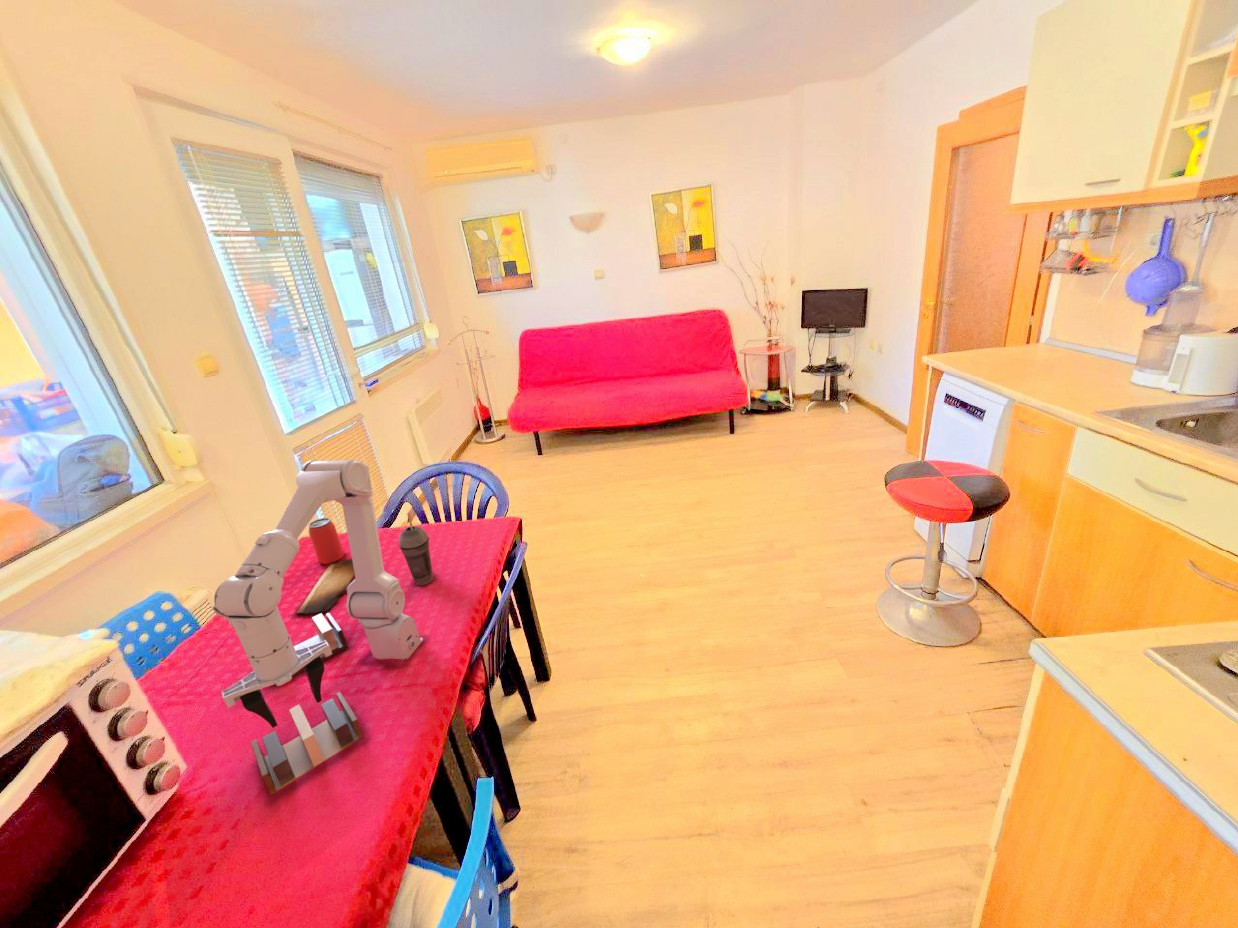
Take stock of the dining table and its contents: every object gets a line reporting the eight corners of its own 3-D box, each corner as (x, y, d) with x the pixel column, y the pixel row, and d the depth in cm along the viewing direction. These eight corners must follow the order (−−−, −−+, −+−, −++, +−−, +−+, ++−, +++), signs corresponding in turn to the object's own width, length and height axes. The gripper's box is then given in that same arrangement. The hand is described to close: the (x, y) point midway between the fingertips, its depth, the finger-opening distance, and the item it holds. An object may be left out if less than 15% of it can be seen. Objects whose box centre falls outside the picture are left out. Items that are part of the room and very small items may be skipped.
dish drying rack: (335, 629, 116) (327, 608, 114) (348, 647, 110) (340, 625, 108) (265, 664, 107) (255, 641, 105) (275, 685, 101) (265, 662, 99)
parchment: (332, 562, 144) (331, 560, 144) (367, 557, 145) (366, 554, 145) (292, 619, 121) (291, 616, 121) (335, 611, 122) (333, 609, 122)
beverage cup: (429, 569, 137) (412, 503, 130) (444, 577, 133) (427, 510, 125) (404, 582, 132) (385, 514, 125) (418, 591, 128) (399, 522, 120)
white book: (309, 729, 89) (299, 703, 87) (325, 760, 83) (313, 733, 81) (299, 735, 88) (288, 709, 86) (314, 767, 82) (302, 740, 80)
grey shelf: (348, 711, 93) (340, 691, 92) (365, 739, 87) (357, 718, 85) (260, 763, 85) (250, 741, 83) (272, 799, 78) (262, 776, 77)
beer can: (322, 555, 149) (309, 519, 144) (346, 550, 151) (334, 515, 146) (316, 567, 143) (303, 530, 139) (342, 561, 145) (329, 525, 140)
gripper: (214, 685, 70) (249, 755, 75) (326, 631, 79) (350, 696, 84) (207, 661, 75) (240, 728, 80) (314, 613, 84) (337, 675, 89)
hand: (296, 710), depth 82 cm, fingers open, 6 cm apart
